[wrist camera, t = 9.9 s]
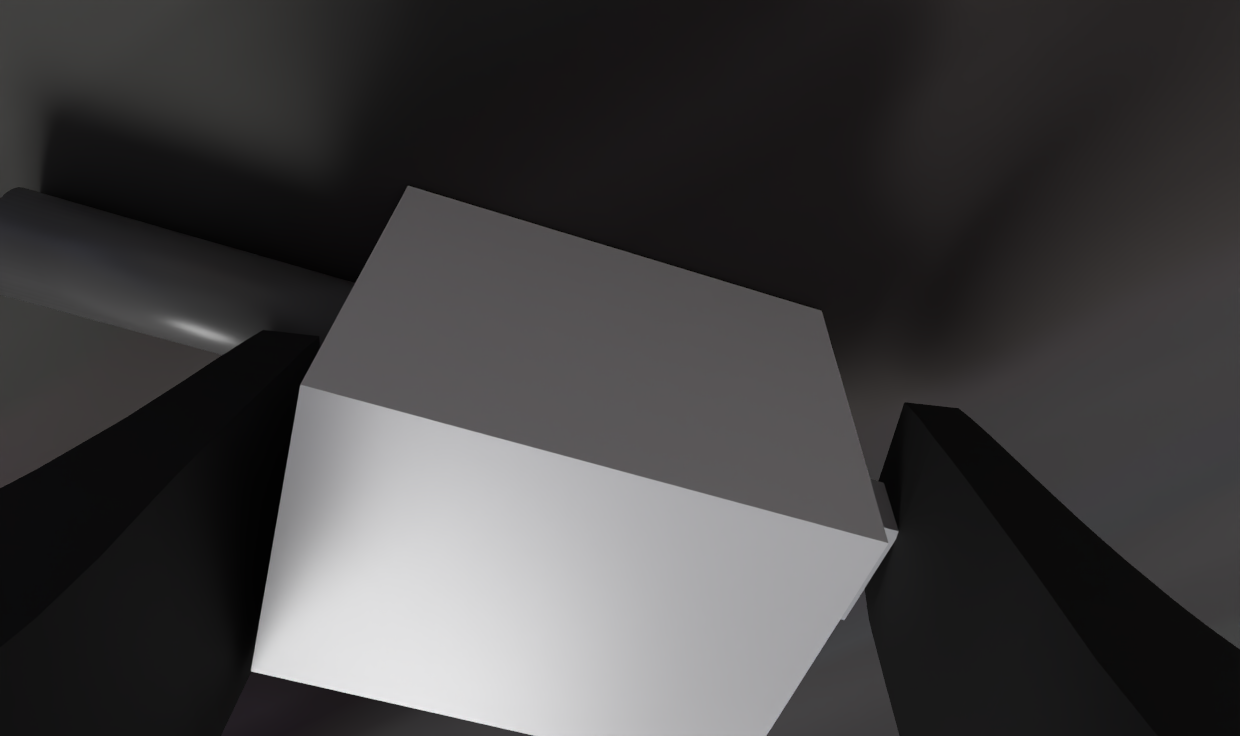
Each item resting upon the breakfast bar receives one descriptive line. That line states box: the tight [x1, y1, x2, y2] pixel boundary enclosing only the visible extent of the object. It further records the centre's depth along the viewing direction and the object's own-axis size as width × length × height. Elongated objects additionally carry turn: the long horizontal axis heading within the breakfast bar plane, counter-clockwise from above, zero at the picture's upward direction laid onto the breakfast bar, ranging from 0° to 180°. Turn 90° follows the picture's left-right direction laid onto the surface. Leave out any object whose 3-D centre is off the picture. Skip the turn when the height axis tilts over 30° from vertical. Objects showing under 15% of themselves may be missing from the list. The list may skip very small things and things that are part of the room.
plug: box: [0, 186, 899, 736], centre depth 10 cm, size 10×4×4 cm, turn 72°
